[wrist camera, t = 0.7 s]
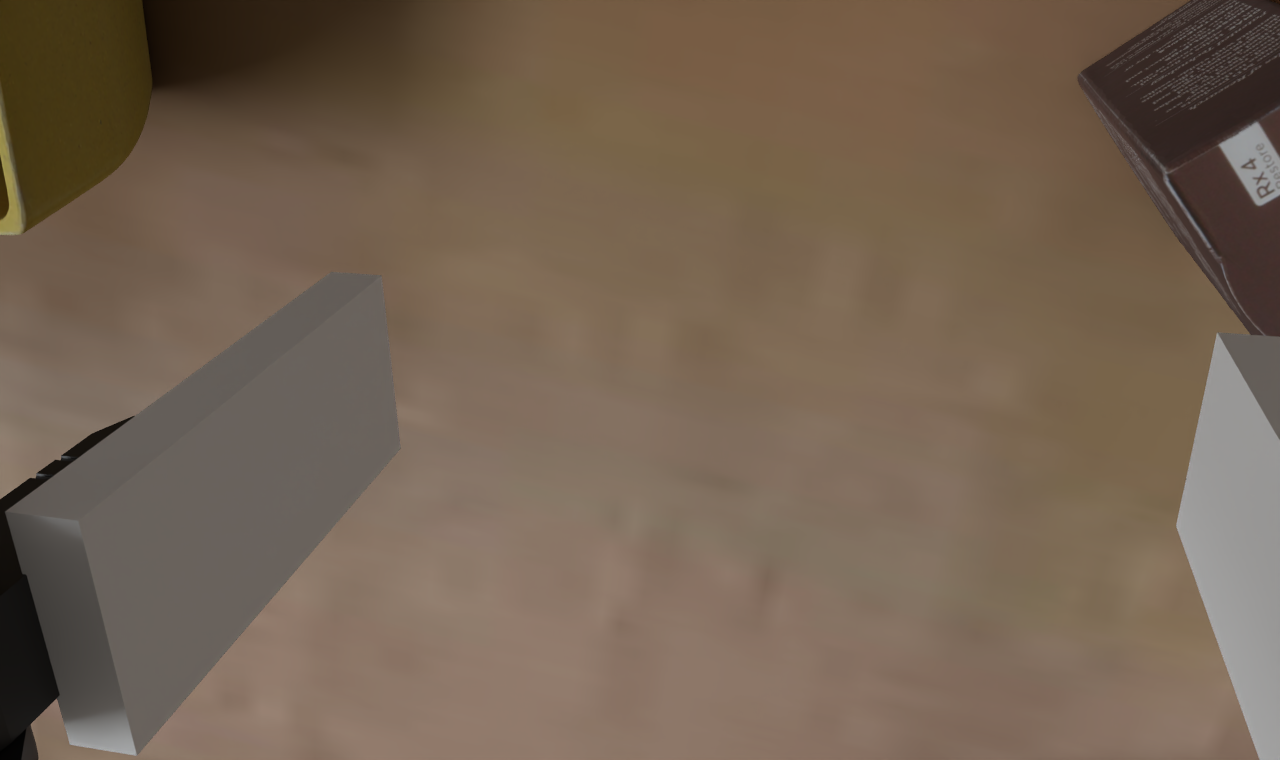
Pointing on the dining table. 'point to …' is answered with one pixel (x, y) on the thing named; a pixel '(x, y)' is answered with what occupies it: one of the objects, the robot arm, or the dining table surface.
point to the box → (1206, 140)
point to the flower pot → (67, 100)
